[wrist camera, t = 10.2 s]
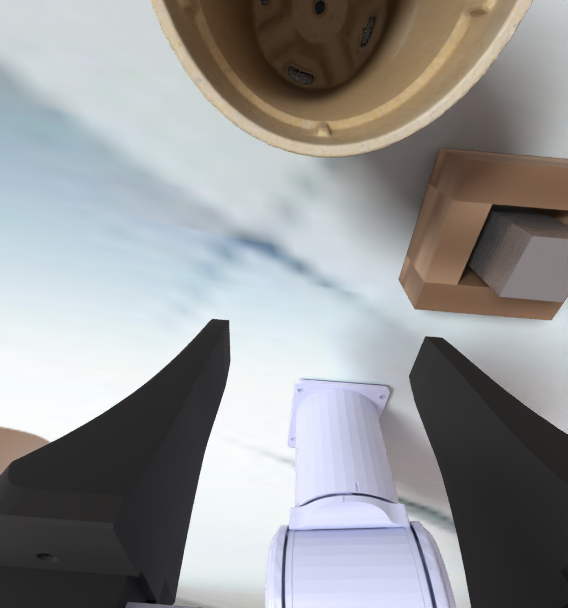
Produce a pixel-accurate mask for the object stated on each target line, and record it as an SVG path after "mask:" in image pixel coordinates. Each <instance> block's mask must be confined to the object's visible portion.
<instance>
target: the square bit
mask: <svg viewBox="0 0 568 608" xmlns="http://www.w3.org/2000/svg"><path fill="white" fill-rule="evenodd" d="M467 264H468V265H469V266H470V267H471V268H472V269H473V270H474V271H475V272H476V273H477V274H478V275H479V276H480V277H481V278H482V279H483V280H484V281H485V282H486V283H487V284H488V285H489V287H490V288H491V289H492V290H493V291H494V292H495V293H496V294H497V295H498V296H499V297H509V298H520V299H531V300H542V301H553V302H563V301H564V300H565V299H566V297H567V296H568V225H567V224H565V223H563V222H561V221H559V220H557V219H555V218H553V217H551V216H549V215H547V214H545V213H543V212H541V211H538V210H536V209H534V208H532V207H522V206H510V205H498V204H492V206H491V208H490V211H489V213H488V215H487V218H486V220H485V222H484V224H483V227H482V229H481V231H480V234H479V236H478V238H477V240H476V243H475V245H474V247H473V250H472V252H471V254H470V256H469V259H468V261H467Z"/></svg>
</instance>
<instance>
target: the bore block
mask: <svg viewBox="0 0 568 608" xmlns="http://www.w3.org/2000/svg"><path fill="white" fill-rule="evenodd" d="M492 204H498V205H510V206H522V207H532V208H534V209H536V210H538V211H541V212H543V213H545V214H547V215H549V216H551V217H553V218H555V219H557V220H559V221H561V222H563V223H565V224H567V225H568V159H562V158H551V157H539V156H527V155H515V154H504V153H492V152H480V151H468V150H457V149H445V148H440V149H439V153H438V156H437V159H436V162H435V165H434V168H433V172H432V175H431V178H430V181H429V184H428V188H427V191H426V194H425V197H424V200H423V203H422V207H421V210H420V213H419V216H418V219H417V223H416V226H415V229H414V232H413V235H412V239H411V242H410V245H409V248H408V251H407V254H406V258H405V261H404V264H403V267H402V270H401V274H400V277H399V281H400V283H401V285H402V287H403V289H404V290H405V292H406V294H407V296H408V298H409V300H410V302H411V303H412V305H413V307H414V309H420V310H432V311H444V312H456V313H468V314H481V315H493V316H505V317H517V318H529V319H541V320H552V319H553V317H554V316H555V314H556V313H557V311H558V310H559V309H560V307H561V306H562V304H563V303H564V301H565V300H566V299H565V300H564V301H563V302H553V301H542V300H531V299H520V298H509V297H499V296H498V295H497V294H496V293H495V292H494V291H493V290H492V289H491V288H490V287H489V285H488V284H487V283H486V282H485V281H484V280H483V279H482V278H481V277H480V276H479V275H478V274H477V273H476V272H475V271H474V270H473V269H472V268H471V267H470V266H469V265H468V264H467V261H468V259H469V256H470V254H471V252H472V250H473V247H474V245H475V243H476V240H477V238H478V236H479V234H480V231H481V229H482V227H483V224H484V222H485V220H486V218H487V215H488V213H489V211H490V208H491V206H492ZM567 297H568V296H567ZM567 297H566V298H567Z"/></svg>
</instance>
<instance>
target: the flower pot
mask: <svg viewBox="0 0 568 608" xmlns="http://www.w3.org/2000/svg"><path fill="white" fill-rule="evenodd" d="M318 1H320V0H268V3H267V4H266V5H264V4H262V0H151V3H152V6H153V9H154V11H155V13H156V15H157V18H158V20H159V23H160V25H161V28H162V31H163V33H164V35H165V36H166V38H167V39H168V41H169V44H170V46H171V48H172V50H173V51H174V53H175V55H176V56H177V58H178V60H179V61H180V62H181V64H182V66H183V68H184V70H185V71H186V72H187V74H188V75H189V77H190V78H191V79H192V81H193V82H194V83H195V85H196V86H197V87H198V88H199V90H200V91H201V92H202V94H203V95H204V97H205V98H206V99H207V100H208V101H209V102H211V104H212V105H213V106H214V107H216V108H217V109H218V110H219V111H220V112H221V113H222V114H223V115H224V116H225V117H226V118H227V119H229V120H230V121H231V122H232V123H233V124H235V125H236V126H237V127H239V128H240V129H241V130H243V131H245V132H246V133H248V134H249V135H251V136H253V137H255V138H257V139H259V140H261V141H263V142H265V143H267V144H268V145H271V146H273V147H276V148H280V149H282V150H285V151H288V152H292V153H295V154H300V155H306V156H312V157H333V158H338V157H347V156H354V155H360V154H364V153H368V152H372V151H376V150H380V149H383V148H385V147H387V146H389V145H392V144H394V143H396V142H399V141H401V140H403V139H405V138H407V137H409V136H411V135H412V134H414V133H416V132H418V131H419V130H421V129H422V128H424V127H426V126H428V125H429V124H430V123H432V122H433V121H434V120H436V119H438V118H439V117H440V116H442V114H443V113H445V112H446V111H447V110H448V109H450V108H451V107H452V106H453V105H454V104H456V103H457V102H458V101H459V100H460V99H461V98H462V97H463V96H464V95H465V94H466V93H467V92H468V91H469V90H470V89H471V88H472V86H473V85H475V84H476V83H477V82H478V80H479V79H480V78H481V77H482V76H483V75H484V74H485V73H486V71H487V70H488V68H489V67H490V66H491V65H492V63H493V62H494V61H495V60H496V58H497V57H498V55H499V54H500V52H501V51H502V50H503V48H504V47H505V46H506V44H507V43H508V42H509V41H510V39H511V38H512V36H513V35H514V33H515V31H516V29H517V27H518V26H519V24H520V22H521V21H522V19H523V18H524V16H525V14H526V12H527V11H528V9H529V8H530V6H531V4H532V1H533V0H321V1H323V2H324V5H325V9H324V11H323V12H322V13H321V14H317V13H316V11H315V5H316V3H317V2H318ZM371 17H375V18H376V20H375V23H374V27H373V30H372V32H371V35H370V38H369V40H368V42H367V43H366V44H365V45H364V46H362V47H361V46H360V43H361V41H362V38H363V35H364V32H363V28H364V29H365V28H366V26H367V24H368V22H369V19H370V18H371ZM290 67H293V68H296V69H297V70H300V71H303V72H305V73H308V74H312V75H313V82H312V83H306V84H304V83H300V82H299V81H295V80H294V79H292V77H291V76H290V75H289V73H288V69H289V68H290Z"/></svg>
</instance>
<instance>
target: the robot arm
mask: <svg viewBox="0 0 568 608" xmlns="http://www.w3.org/2000/svg"><path fill="white" fill-rule="evenodd" d="M229 366H230V335H229V320H218V319H212V320H211V321H209V322H208V324H207V325H206V326H205V327H204V328H203V329H202V330H201V332H200V333H199V334H198V335H197V336H196V337H195V338H194V339H193V340H192V341H191V342H190V343H189V344H188V345H187V346H186V347H185V348H184V349H183V350H182V351H181V352H180V353H179V354H178V355H177V356H176V357H175V358H174V359H173V360H172V361H171V362H170V363H169V364H168V365H167V366H165V367H164V368H163V369H162V370H161V371H160V372H159V373H158V374H156V375H155V376H154V377H153V378H152V379H150V380H149V381H148V382H147V383H145V384H144V385H143V386H141V387H140V388H139V389H138V390H136V391H135V392H134V393H132V394H131V395H129V396H128V397H127V398H125V399H124V400H122V401H121V402H119V403H118V404H116V405H115V406H113V407H112V408H110V409H109V410H107V411H106V412H104V413H103V414H101V415H100V416H98V417H96V418H94V419H93V420H91V421H89V422H88V423H86V424H84V425H83V426H81V427H79V428H77V429H76V430H74V431H72V432H70V433H68V434H67V435H65V436H63V437H61V438H59V439H57V440H55V441H53V442H51V443H49V444H47V445H45V446H43V447H41V448H39V449H37V450H35V451H33V452H31V453H29V454H27V455H26V456H23V457H21V458H19V459H17V460H15V461H13V462H12V463H11V464H10V465H9V466H8V467H7V468H6V469H5V471H4V472H3V473H2V474H1V475H0V608H200V607H187V606H174V605H173V604H174V602H175V598H176V592H177V587H178V581H179V576H180V570H181V565H182V559H183V554H184V549H185V544H186V539H187V533H188V528H189V523H190V518H191V513H192V508H193V504H194V499H195V494H196V489H197V485H198V480H199V475H200V471H201V466H202V462H203V457H204V453H205V450H206V446H207V442H208V439H209V436H210V433H211V430H212V427H213V424H214V421H215V418H216V414H217V411H218V408H219V405H220V402H221V399H222V396H223V393H224V389H225V386H226V381H227V377H228V371H229ZM409 378H410V383H411V388H412V392H413V396H414V400H415V403H416V406H417V409H418V412H419V414H420V417H421V420H422V422H423V425H424V428H425V430H426V433H427V435H428V438H429V441H430V443H431V446H432V448H433V451H434V454H435V456H436V459H437V462H438V465H439V468H440V471H441V474H442V477H443V481H444V485H445V488H446V492H447V496H448V499H449V503H450V507H451V511H452V516H453V520H454V524H455V528H456V532H457V537H458V541H459V546H460V551H461V555H462V560H463V565H464V570H465V575H466V581H467V586H468V592H469V597H470V603H471V608H568V434H566V433H565V432H563V431H561V430H560V429H558V428H557V427H555V426H554V425H552V424H551V423H550V422H548V421H547V420H545V419H544V418H542V417H541V416H539V415H538V414H536V413H535V412H534V411H532V410H531V409H529V408H528V407H527V406H525V405H524V404H523V403H521V402H520V401H519V400H517V399H516V398H515V397H513V396H512V395H511V394H510V393H508V392H507V391H506V390H504V389H503V388H502V387H501V386H499V385H498V384H497V383H496V382H494V381H493V380H492V379H491V378H490V377H488V376H487V375H486V374H485V373H484V372H482V371H481V370H480V369H479V368H478V367H477V366H475V365H474V364H473V363H472V362H471V361H470V360H468V359H467V358H466V357H465V356H464V355H463V354H461V353H460V352H459V351H458V350H457V349H456V348H454V347H453V346H452V345H451V344H449V343H448V342H447V341H446V340H444V339H443V338H438V337H426V336H425V339H424V341H423V343H422V346H421V348H420V351H419V353H418V355H417V358H416V360H415V363H414V365H413V367H412V370H411V372H410V375H409ZM300 388H301V389H300ZM389 394H390V390H389V388H388V387H387V386H379V385H367V384H354V383H342V382H330V381H317V380H305V379H299V380H297V381H296V383H295V389H294V397H293V404H292V412H291V420H290V427H289V435H288V446H289V447H291V448H296V481H295V508H290V514H289V525H282V526H280V527H279V529H278V531H277V533H276V534H275V535H274V537H273V538H272V540H271V543H270V547H269V553H268V560H267V570H266V588H265V608H456V604H455V600H454V596H453V592H452V588H451V584H450V581H449V577H448V574H447V571H446V568H445V564H444V561H443V559H442V556H441V553H440V551H439V548H438V546H437V543H436V541H435V539H434V538H433V536H432V535H431V533H430V532H429V531H427V530H426V529H425V528H424V527H423V525H422V524H421V523H420V522H419V521H409V519H408V515H407V511H406V507H405V505H404V504H399V501H398V497H397V493H396V489H395V485H394V481H393V476H392V472H391V468H390V464H389V460H388V456H387V452H386V448H385V444H384V440H383V436H382V431H381V427H380V423H379V420H380V417H381V415H382V412H383V410H384V407H385V404H386V402H387V399H388V397H389Z"/></svg>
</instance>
